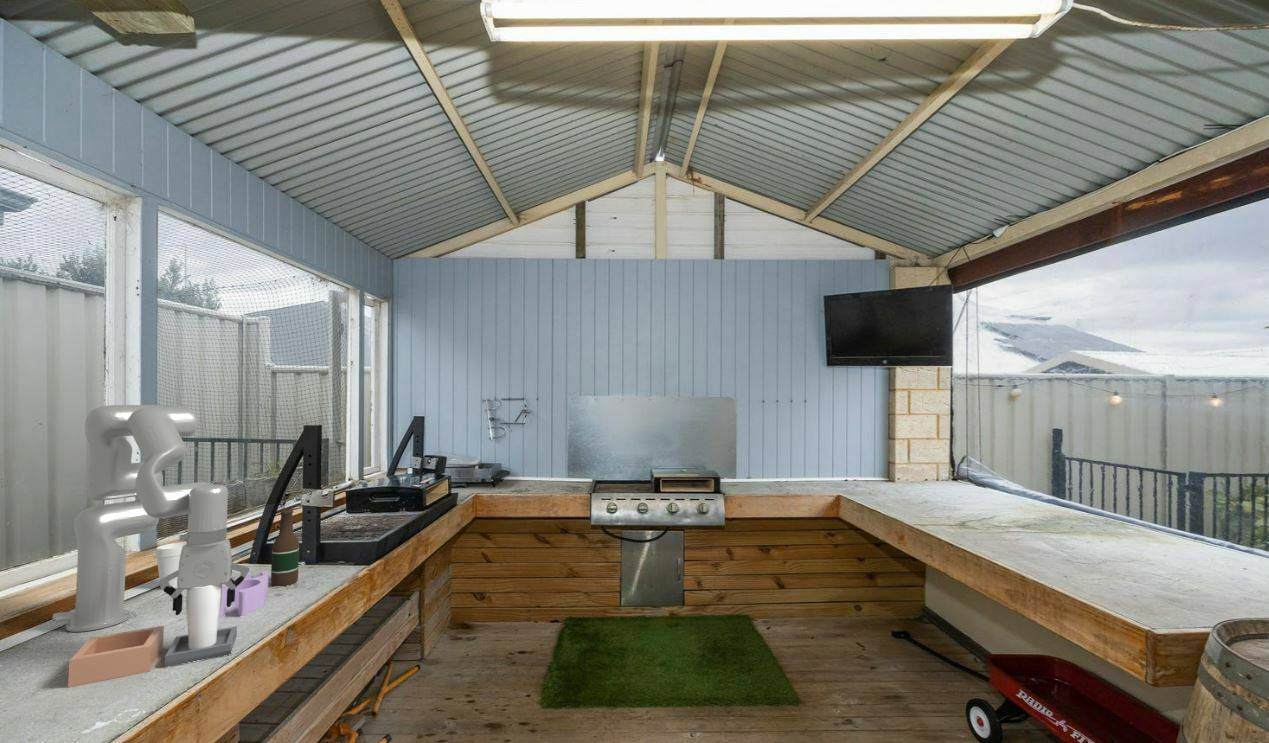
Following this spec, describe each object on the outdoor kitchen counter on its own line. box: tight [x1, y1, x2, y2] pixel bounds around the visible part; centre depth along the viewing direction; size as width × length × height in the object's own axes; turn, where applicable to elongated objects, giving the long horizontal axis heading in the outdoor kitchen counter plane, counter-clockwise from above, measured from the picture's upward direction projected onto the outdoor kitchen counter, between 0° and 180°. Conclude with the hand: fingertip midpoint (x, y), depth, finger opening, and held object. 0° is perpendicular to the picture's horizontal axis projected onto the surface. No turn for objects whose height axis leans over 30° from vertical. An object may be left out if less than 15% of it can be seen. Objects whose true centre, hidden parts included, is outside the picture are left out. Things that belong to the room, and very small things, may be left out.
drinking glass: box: [185, 584, 222, 650], centre depth 131 cm, size 7×7×15 cm
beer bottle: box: [270, 508, 300, 587], centre depth 181 cm, size 8×8×24 cm
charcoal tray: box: [164, 626, 238, 668], centre depth 131 cm, size 12×12×2 cm
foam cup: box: [155, 541, 186, 590], centre depth 178 cm, size 10×9×13 cm
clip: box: [219, 571, 269, 619], centre depth 161 cm, size 20×12×7 cm, turn 16°
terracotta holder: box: [67, 625, 165, 688], centre depth 123 cm, size 13×13×6 cm
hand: (204, 609), depth 132 cm, fingers open, 9 cm apart
